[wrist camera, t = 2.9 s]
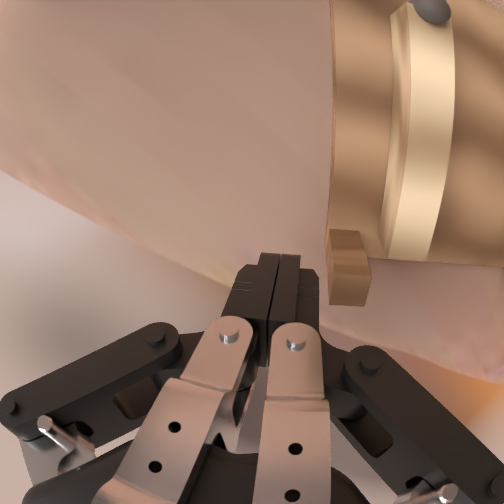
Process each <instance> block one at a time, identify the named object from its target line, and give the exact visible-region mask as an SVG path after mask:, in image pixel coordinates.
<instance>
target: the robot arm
mask: <svg viewBox="0 0 504 504" xmlns="http://www.w3.org/2000/svg"><path fill="white" fill-rule="evenodd" d="M300 257H301V255H290V254H282V255H281V254H275V253H261V255H260V258H259V261H258V265H249V264H247V265H245V266H244V267H243V268H242V269H241V270H240V271H239V272H238V274H237V276H236V279H235V282H234V284H233V287H232V290H231V292H230V294H229V297H228V299H227V302H226V305H225V307H224V310H223V312H222V315H221V317H220V318H218V319H216V320H214V321H212V322H211V323H210V324H209V325H208V327H207V328H206V330H205V331H203V332H198V333H190V334H178V331H177V329H176V328H175V327H174V326H172V325H171V324H168V323H164V322H157V323H152V324H149V325H147V326H145V327H143V328H141V329H139V330H137V331H135V332H133V333H131V334H129V335H127V336H125V337H123V338H121V339H119V340H117V341H115V342H113V343H111V344H109V345H107V346H105V347H103V348H101V349H99V350H97V351H95V352H93V353H91V354H88V355H87V356H84V357H82V358H80V359H78V360H76V361H74V362H72V363H70V364H68V365H66V366H64V367H62V368H60V369H58V370H55V371H53V372H51V373H49V374H47V375H45V376H43V377H41V378H39V379H37V380H34V381H32V382H30V383H28V384H26V385H24V386H22V387H19V388H17V389H15V390H13V391H11V392H9V393H7V394H6V395H5V396H4V397H3V398H2V399H1V401H0V422H1V424H2V425H4V426H5V427H6V428H7V429H8V430H10V431H11V432H12V433H13V434H15V435H16V436H17V437H18V439H19V441H20V444H21V448H22V452H23V456H24V459H25V463H26V466H27V469H28V472H29V475H30V478H31V481H32V483H33V487H32V488H30V489H29V490H28V492H27V493H26V494H25V496H24V498H23V501H22V504H370V503H369V502H368V500H367V499H366V498H365V497H364V495H363V494H362V493H361V492H360V490H359V489H358V488H357V487H356V486H355V484H354V483H353V482H352V481H351V480H350V479H349V478H348V477H347V476H345V475H344V474H343V473H341V472H340V471H338V470H336V469H335V468H333V467H331V437H330V436H331V435H330V420H331V421H332V422H333V423H334V425H335V426H336V427H337V428H338V429H339V430H340V432H341V433H342V434H343V435H344V436H345V437H346V439H347V440H348V441H349V442H350V443H351V444H352V446H353V447H354V448H355V449H356V450H357V451H358V453H359V454H360V455H361V456H362V457H363V458H364V459H365V460H366V462H367V463H368V464H369V465H370V466H371V467H372V468H373V469H374V471H375V472H376V473H378V475H379V476H380V477H381V478H382V479H383V480H384V481H385V483H386V484H387V485H388V486H389V487H390V488H391V489H392V490H393V491H394V492H395V493H396V494H397V496H398V497H397V498H396V500H395V502H394V504H503V503H504V464H503V463H502V462H501V461H500V460H499V459H498V458H497V457H496V456H495V455H494V454H493V453H492V452H491V451H490V450H489V449H488V448H487V447H486V446H485V445H484V444H482V442H481V441H480V440H478V439H477V438H476V437H475V436H474V435H473V434H472V433H471V432H470V431H469V430H468V429H467V428H466V427H465V426H464V425H463V424H462V423H461V422H460V421H458V419H457V418H456V417H454V416H453V415H452V414H451V413H450V412H449V411H448V410H447V409H446V408H445V407H444V406H443V405H442V404H441V403H440V402H438V400H436V399H435V398H434V397H433V396H432V395H431V394H430V393H429V392H428V391H427V390H426V389H425V388H424V387H422V386H421V385H420V384H419V383H418V382H417V381H416V380H415V379H414V378H413V377H412V376H411V375H409V373H408V372H406V371H405V370H404V369H403V368H402V367H401V366H400V365H399V364H398V363H397V362H395V360H393V359H392V358H391V357H390V356H389V355H388V354H387V353H386V352H385V351H383V350H381V349H380V348H378V347H374V346H369V345H368V346H366V345H365V346H359V347H356V348H354V349H353V350H351V352H347V351H344V350H341V349H338V348H335V347H333V346H331V345H330V344H328V343H327V342H326V341H325V340H324V339H323V338H322V336H321V335H320V332H319V277H318V276H317V274H316V273H315V271H314V269H301V268H300ZM267 359H268V367H269V374H268V385H267V394H266V398H265V404H264V414H263V422H262V431H261V441H260V448H259V453H252V454H235V451H236V447H237V443H238V436H239V431H240V427H241V424H242V422H243V419H244V416H245V413H246V410H247V407H248V404H249V401H250V398H251V395H252V392H253V389H254V385H255V379H256V376H257V371H258V367H259V366H262V367H266V364H267ZM140 426H141V427H140ZM138 427H140V429H139V431H138V433H137V435H136V436H135V438H134V439H133V440H130V441H128V442H126V443H124V444H122V445H120V446H118V447H116V448H114V449H113V450H111V451H109V452H107V453H105V454H103V455H101V456H99V457H97V458H96V456H95V454H94V452H95V448H98V447H100V446H102V445H104V444H106V443H108V442H110V441H112V440H114V439H116V438H119V437H121V436H123V435H125V434H126V433H128V432H130V431H132V430H134V429H136V428H138Z"/></svg>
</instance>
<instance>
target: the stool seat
mask: <svg viewBox="0 0 504 504" xmlns="http://www.w3.org/2000/svg"><path fill="white" fill-rule="evenodd" d="M408 1H410V0H329V2H330V14H331V30H332V53H333V132H332V157H331V175H330V190H329V203H328V215H327V225H326V235H325V246H326V260H327V275H328V294H329V305H344V306H365V302H366V299H367V295H368V291H369V288H370V284H371V280H372V275H371V271H370V267H369V263H368V260H367V258H382V259H387V257H386V254H385V251H384V249H383V246H382V244H381V241H380V239H379V236H378V234H377V233H378V228H379V222H380V216H381V210H382V204H383V198H384V191H385V184H386V176H387V168H388V159H389V149H390V137H391V123H392V102H393V53H392V33H391V20H390V15H391V14H393V13H394V12H395V11H396V10H397V9H398V8H400V7H401V6H402V5H403V4H405V3H406V2H408ZM446 1H447V3H448V5H449V7H450V9H451V21H452V30H453V41H454V57H455V100H454V118H453V130H452V139H451V148H450V155H449V162H448V168H447V174H446V180H445V185H444V191H443V195H442V200H441V205H440V209H439V213H438V218H437V222H436V225H435V229H434V233H433V237H432V240H431V244H430V247H429V251H428V254H427V257H426V260H425V262H440V263H454V264H468V265H482V266H496V267H504V13H503V12H502V11H500V10H498V9H496V8H495V7H493V6H491V5H489V4H487V3H485V2H483V1H481V0H446Z"/></svg>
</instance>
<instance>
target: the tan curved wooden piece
mask: <svg viewBox="0 0 504 504" xmlns="http://www.w3.org/2000/svg"><path fill="white" fill-rule="evenodd" d="M390 20H391V33H392V53H393V102H392V123H391V137H390V149H389V159H388V168H387V176H386V184H385V191H384V198H383V204H382V210H381V216H380V222H379V228H378V233H377V234H378V236H379V239H380V241H381V244H382V246H383V249H384V251H385V254H386V257H387V259H394V260H408V261H423V262H425V260H426V257H427V254H428V251H429V247H430V244H431V240H432V237H433V233H434V229H435V225H436V222H437V218H438V213H439V209H440V205H441V200H442V195H443V191H444V185H445V180H446V174H447V168H448V162H449V155H450V148H451V139H452V130H453V118H454V100H455V57H454V41H453V30H452V21H451V9H450V7H449V5H448V3H447V1H446V0H410V1H408V2H406V3H405V4H403V5H402V6H401V7H400V8H398V9H397V10H396V11H395V12H394V13H393V14H391V15H390Z"/></svg>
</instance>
